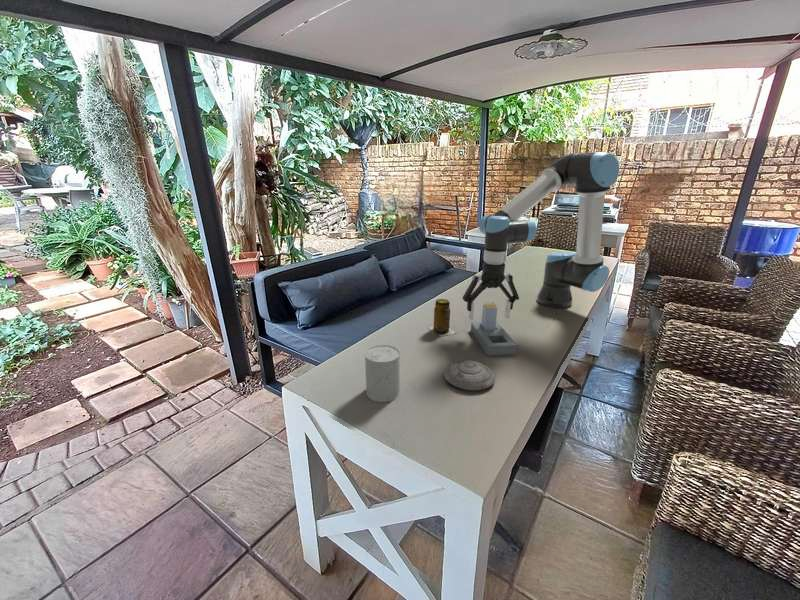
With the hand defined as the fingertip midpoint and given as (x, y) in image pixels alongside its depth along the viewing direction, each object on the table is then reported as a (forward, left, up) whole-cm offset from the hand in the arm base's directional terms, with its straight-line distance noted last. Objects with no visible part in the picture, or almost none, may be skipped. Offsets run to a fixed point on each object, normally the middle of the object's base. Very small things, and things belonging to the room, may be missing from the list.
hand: (488, 318), depth 135 cm
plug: (0, 0, -7) cm, 7 cm away
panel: (0, +5, -7) cm, 9 cm away
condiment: (+16, -6, -7) cm, 19 cm away
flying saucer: (+15, +28, -8) cm, 33 cm away
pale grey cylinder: (+41, +32, -7) cm, 52 cm away
